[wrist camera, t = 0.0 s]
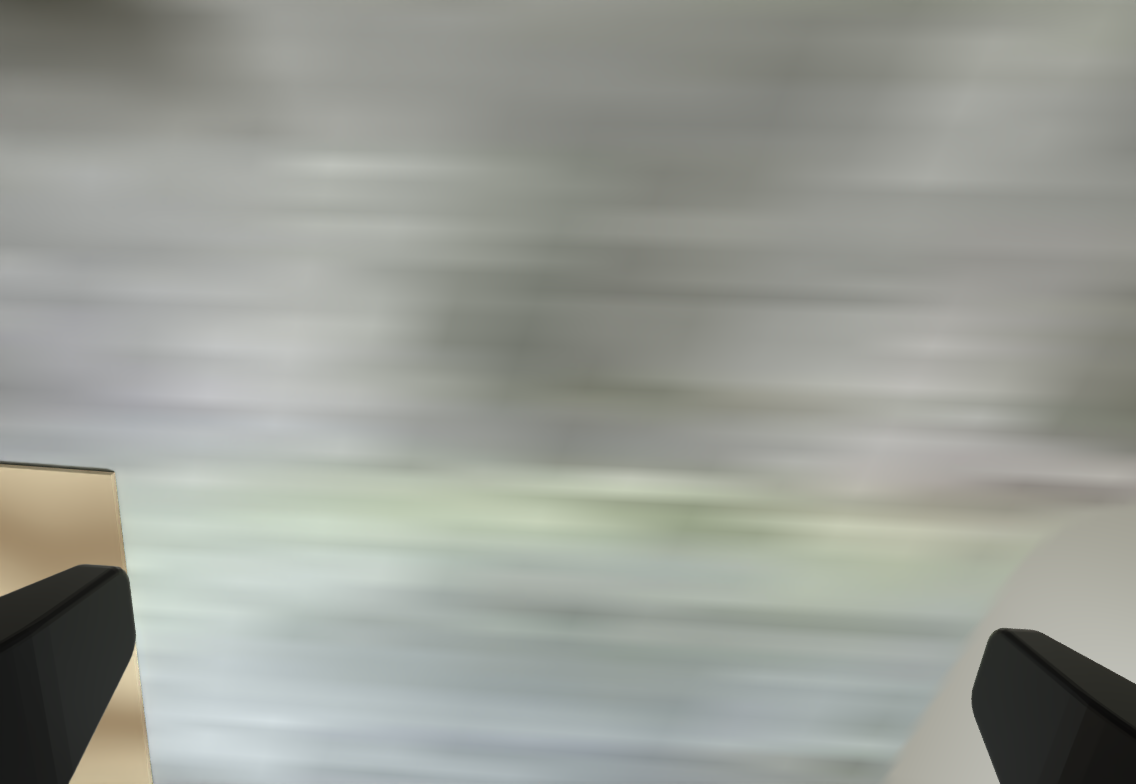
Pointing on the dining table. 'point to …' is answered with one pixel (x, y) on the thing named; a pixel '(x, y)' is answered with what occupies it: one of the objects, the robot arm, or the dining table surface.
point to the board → (56, 543)
